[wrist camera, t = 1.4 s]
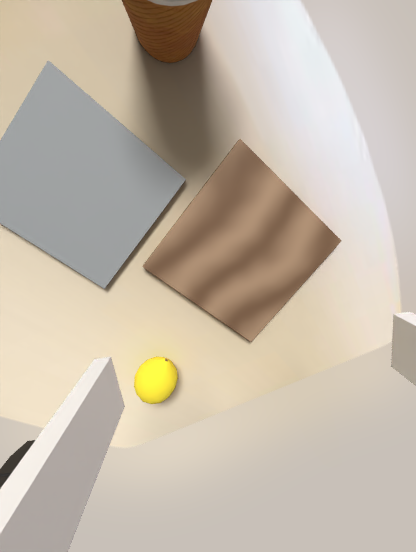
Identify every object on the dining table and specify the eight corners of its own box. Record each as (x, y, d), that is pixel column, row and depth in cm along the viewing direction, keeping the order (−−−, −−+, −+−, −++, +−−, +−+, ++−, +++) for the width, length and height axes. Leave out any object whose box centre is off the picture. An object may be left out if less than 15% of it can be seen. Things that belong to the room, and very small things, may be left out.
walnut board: (143, 264, 30) (142, 266, 29) (237, 141, 28) (240, 138, 27) (248, 338, 35) (250, 341, 34) (336, 239, 33) (341, 240, 32)
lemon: (166, 386, 36) (162, 420, 32) (131, 375, 35) (121, 409, 30) (186, 352, 34) (186, 383, 29) (150, 339, 33) (143, 369, 28)
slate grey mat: (-30, 200, 26) (-36, 200, 25) (52, 64, 23) (48, 60, 23) (106, 286, 30) (104, 288, 30) (185, 180, 28) (185, 179, 27)
